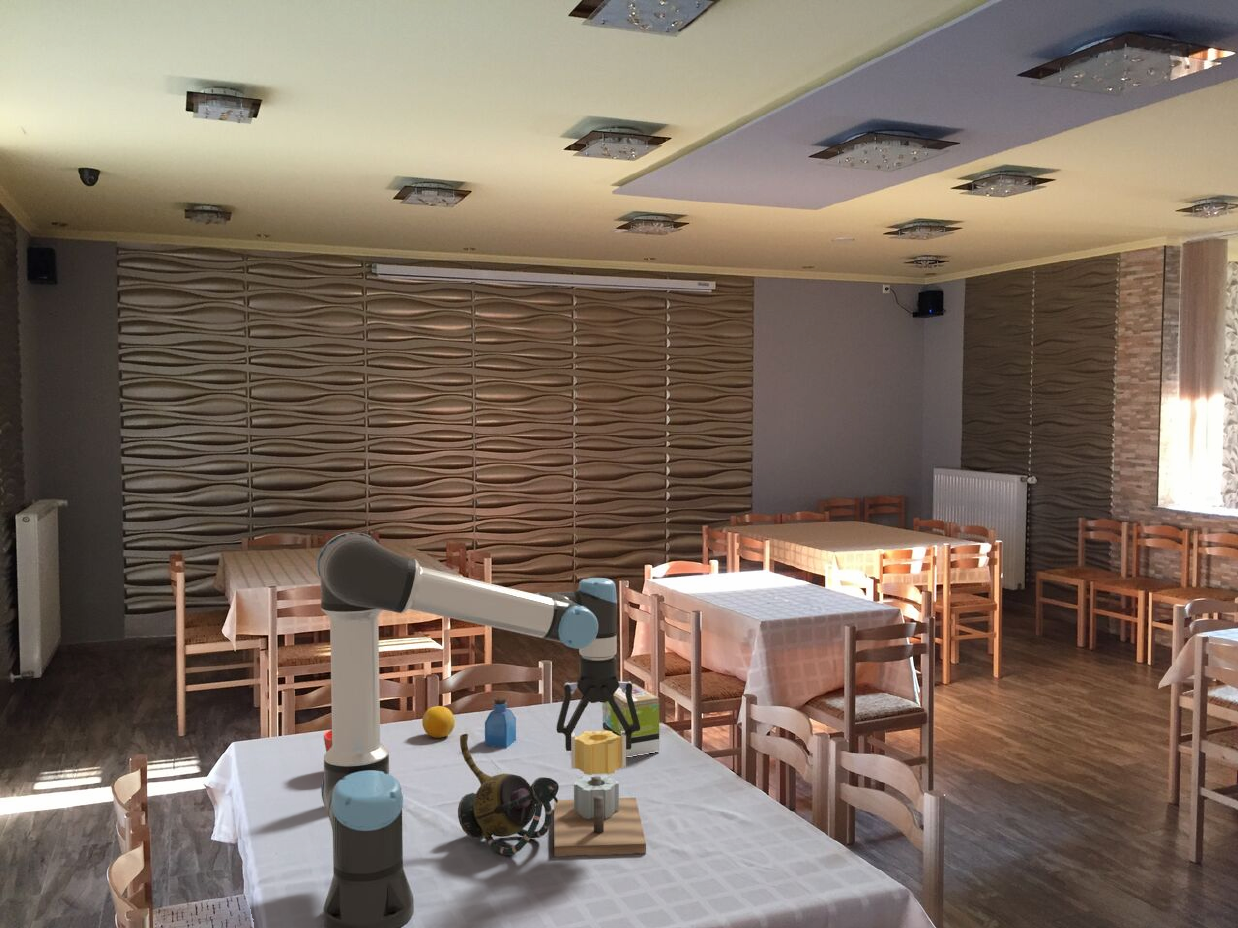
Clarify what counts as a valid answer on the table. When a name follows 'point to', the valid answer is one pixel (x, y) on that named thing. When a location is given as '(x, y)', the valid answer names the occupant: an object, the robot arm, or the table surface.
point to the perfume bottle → (500, 725)
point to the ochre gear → (598, 752)
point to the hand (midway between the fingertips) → (598, 765)
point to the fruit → (438, 721)
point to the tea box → (647, 717)
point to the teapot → (505, 806)
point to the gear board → (598, 843)
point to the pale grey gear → (587, 792)
